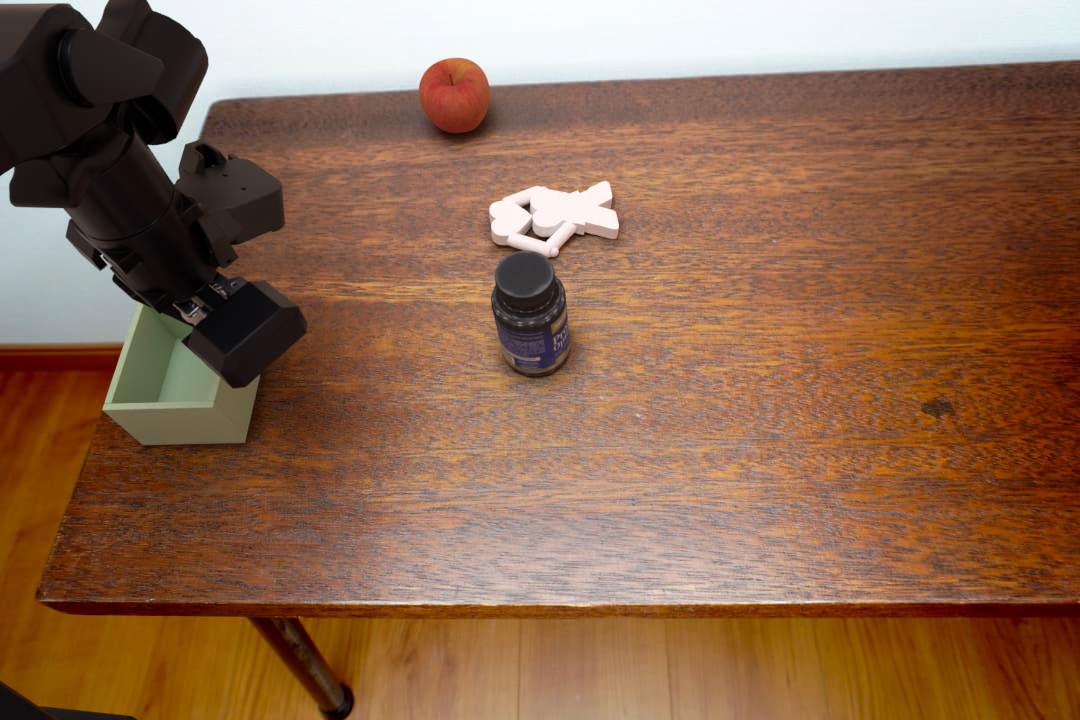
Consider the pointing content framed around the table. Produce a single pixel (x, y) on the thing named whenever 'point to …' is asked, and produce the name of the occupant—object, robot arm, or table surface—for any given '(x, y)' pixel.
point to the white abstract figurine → (552, 217)
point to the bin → (173, 388)
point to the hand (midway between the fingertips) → (233, 345)
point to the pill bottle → (530, 314)
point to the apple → (455, 94)
